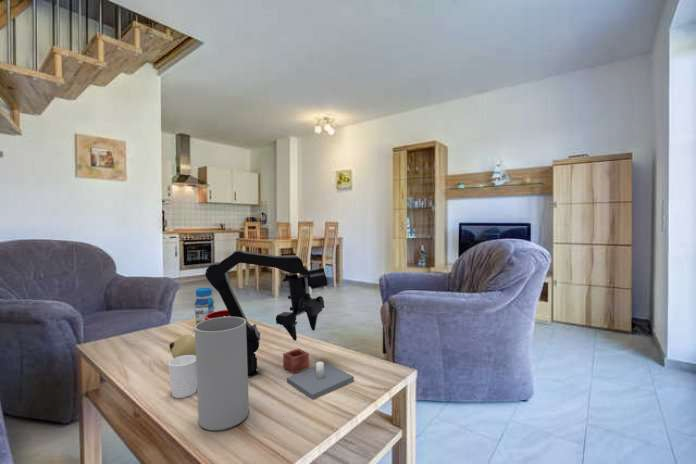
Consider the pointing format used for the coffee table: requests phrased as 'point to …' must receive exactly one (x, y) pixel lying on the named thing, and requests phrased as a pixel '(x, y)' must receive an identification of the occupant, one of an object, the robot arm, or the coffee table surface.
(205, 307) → the beverage bottle
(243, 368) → the cylinder vase
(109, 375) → the coffee table surface
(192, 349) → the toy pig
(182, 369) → the white cup
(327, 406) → the coffee table surface
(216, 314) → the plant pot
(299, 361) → the red square tube
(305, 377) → the flat gray board
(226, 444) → the coffee table surface
